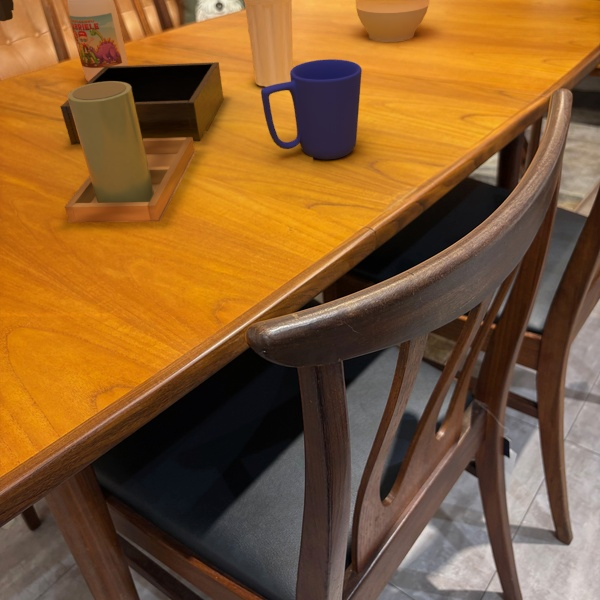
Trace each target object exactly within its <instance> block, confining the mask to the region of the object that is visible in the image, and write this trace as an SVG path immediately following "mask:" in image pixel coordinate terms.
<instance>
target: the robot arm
mask: <svg viewBox="0 0 600 600" xmlns="http://www.w3.org/2000/svg"><path fill="white" fill-rule="evenodd" d="M14 7H15V5H14V0H0V22H6V21H10V20H12V19H13V18H14V14H13V11H14V10H15V9H14Z"/></svg>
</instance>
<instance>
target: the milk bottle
mask: <svg viewBox="0 0 600 600" xmlns="http://www.w3.org/2000/svg"><path fill="white" fill-rule="evenodd" d="M66 3H67V10H68V16H69V20H70V24H71V29H72V32H73V37H74V40H75V44H76V48H77V52H78V57H79V60H80V64H81V67H82V68H81V69H82V71H83V74H84V78H85V80H86V81H87V82H88V81H89V80H91V79H92V78H93V77H94V76H95V75H96V74H97V73H98V72H100V71H101V70H102V69H103V68H104V67H108V66H109V67H110V66H130V64H129V60H128V55H127V51H126V46H125V41H124V37H123V32H122V28H121V27H122V26H121V23H120V19H119V15H118V11H117V6H116V3H115V1H114V0H67V2H66Z"/></svg>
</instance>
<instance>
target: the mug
mask: <svg viewBox="0 0 600 600" xmlns="http://www.w3.org/2000/svg"><path fill="white" fill-rule="evenodd" d="M362 71H363V70H362V67H361V66H360V64H358V63H357V62H354V61H350V60H345V59H337V58H336V59H331V58H329V59H318V60H317V59H316V60H311V61H306V62H302V63H299V64H297V65H295V66H293V69H292V70H291V72H290V77H291V82H286V83H280V84H275V85H271V86H268V87H265V86H264V87H262V88H261V89H260V96H261V102H262V109H263V113H264V117H265V122H266V126H267V130H268V133H269V135H270V137H271V140H272V141H273V142H274V144H275V145H276V146H277V147H279V148H280V149H283V150H291V149H293V148H296V147H297V146H298V145H299V144H300V147H301V150H302V151H303V153H304V154H305V155H307V156H308V157H312V158H313V159H317V160H336V159H340V158H343V157H346V156H348V155H349V154H351V152H353V151H354V149H355V146H356V144H357V137H358V123H359V111H360V110H359V109H360V97H361V84H362V83H361V82H362ZM283 91H289V93H290V95H291V99H292V104H293V105H292V106H293V110H294V116H295V117H294V118H295V125H296V138H294V139H293V140H290V141H287V142H286V141H282V140H281V138H280V137H279V135H278V134H277V130H276V127H275V124H274V119H273V115H272V109H271V103H270V102H271V101H270V96H271V95H272V94H275V93H278V92H283Z"/></svg>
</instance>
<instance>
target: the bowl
mask: <svg viewBox="0 0 600 600" xmlns="http://www.w3.org/2000/svg"><path fill="white" fill-rule="evenodd" d="M429 5H430V0H355V9H356V14H357V17H358V18H359V22H360V23H361V25H362V26H363V28H364V29H365V30H366V32H367V34H368V39H370V40H371V41H375V42H381V43H397V42H403V41H404V42H405V41H408V40H411V39H412V38H414V37H415V32H416V30H417V29H418V28H419V26H420V25H421V24H422V22H423V20H424V18H425V16H426V14H427V12H428V8H429Z"/></svg>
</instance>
